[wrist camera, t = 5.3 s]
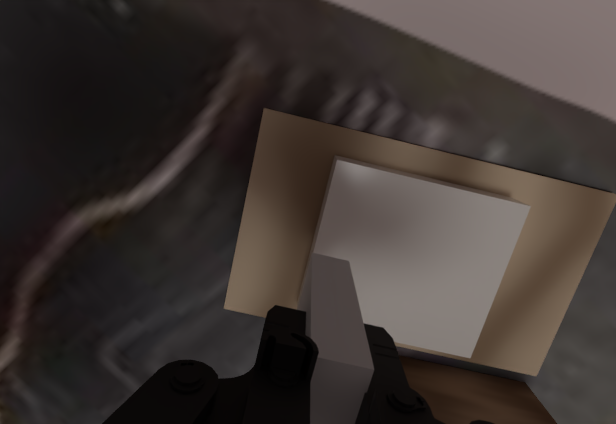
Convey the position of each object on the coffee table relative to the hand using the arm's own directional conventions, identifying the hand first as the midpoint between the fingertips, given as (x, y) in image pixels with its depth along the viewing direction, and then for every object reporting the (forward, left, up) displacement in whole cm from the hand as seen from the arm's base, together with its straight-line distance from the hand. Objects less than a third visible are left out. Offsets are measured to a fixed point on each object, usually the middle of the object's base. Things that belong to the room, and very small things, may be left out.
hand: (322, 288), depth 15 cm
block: (0, 0, -6) cm, 6 cm away
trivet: (+6, 0, -8) cm, 9 cm away
